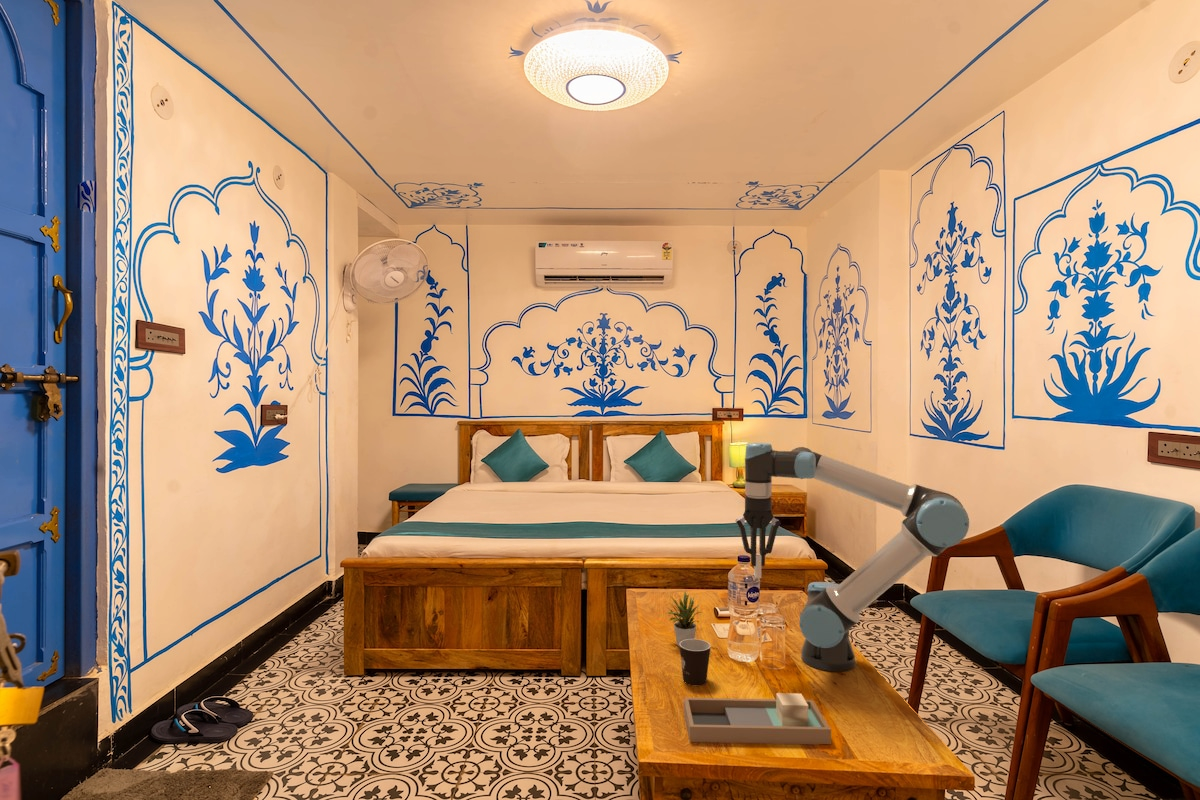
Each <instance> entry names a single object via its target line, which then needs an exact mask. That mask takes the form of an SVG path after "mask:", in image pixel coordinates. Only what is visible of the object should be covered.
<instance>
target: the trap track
mask: <svg viewBox="0 0 1200 800" xmlns="http://www.w3.org/2000/svg"><path fill="white" fill-rule="evenodd" d="M805 701H806V703H807V704H808V727H794V726H782V725H781V723H780V720H779V718H778V716H777V714H776V699H775V698H774V699H773V698H772V699H771V698H769V699H768V698H728V697H727V698H725V697H724V698H722V697H718V698H717V697H715V698H714V697H683V714H684V719H685V724H686V729H687V733H688V740H689V743H727V744H728V743H732V744H735V743H736V744H737V743H738V744H770V745H771V744H776V745H777V744H779V745H780V744H781V745H783V744H784V745H819V744H831V745H832V728H831V727H830V726H829V724H828V722H827V720H826V719H825V718H824V716H823V714H822V713H821V711H820V710H819V708H818V706H817V704H816V703H815V701H814V699H805Z"/></svg>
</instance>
